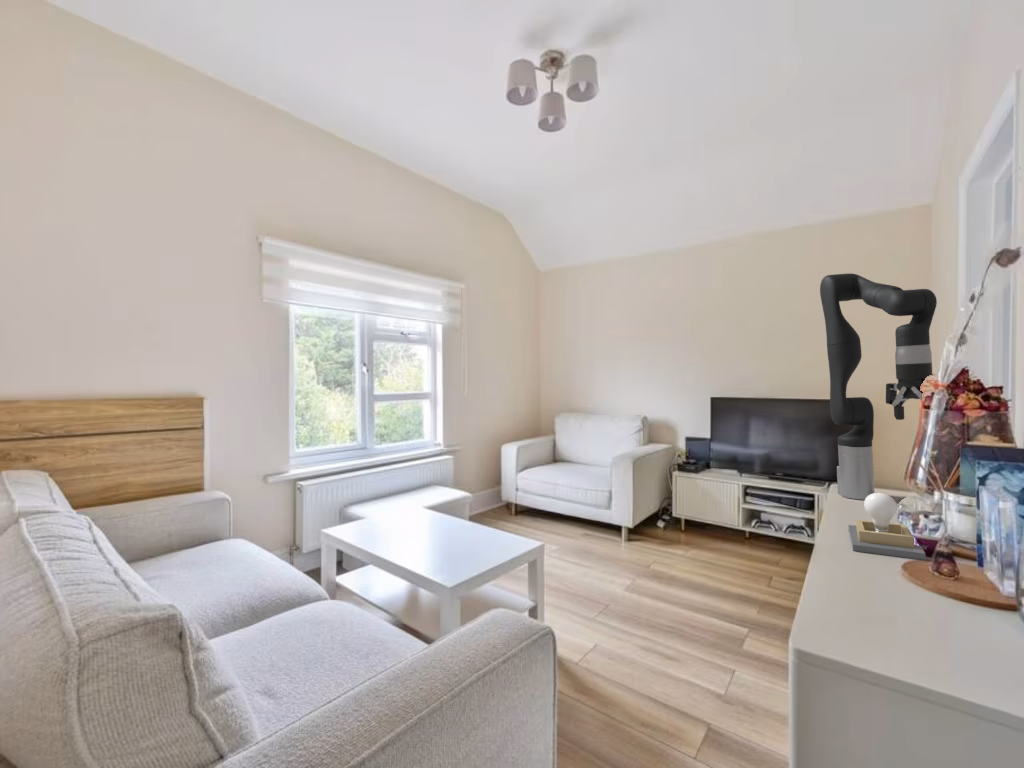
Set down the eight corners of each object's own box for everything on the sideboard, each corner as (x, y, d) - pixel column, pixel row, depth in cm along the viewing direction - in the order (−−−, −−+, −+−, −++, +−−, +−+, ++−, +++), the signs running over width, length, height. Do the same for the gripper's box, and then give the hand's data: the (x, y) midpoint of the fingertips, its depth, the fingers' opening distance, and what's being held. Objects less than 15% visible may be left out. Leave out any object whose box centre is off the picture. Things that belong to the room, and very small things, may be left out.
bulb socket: (848, 530, 122) (847, 515, 122) (912, 537, 115) (911, 521, 115) (853, 550, 108) (852, 534, 108) (925, 560, 101) (924, 542, 101)
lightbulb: (872, 541, 110) (870, 496, 110) (860, 532, 116) (858, 489, 116) (904, 542, 108) (901, 496, 108) (890, 533, 114) (888, 490, 114)
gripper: (953, 360, 119) (956, 421, 119) (897, 362, 133) (900, 417, 133) (930, 361, 117) (933, 424, 117) (876, 363, 131) (879, 419, 131)
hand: (915, 420), depth 125 cm, fingers open, 8 cm apart
